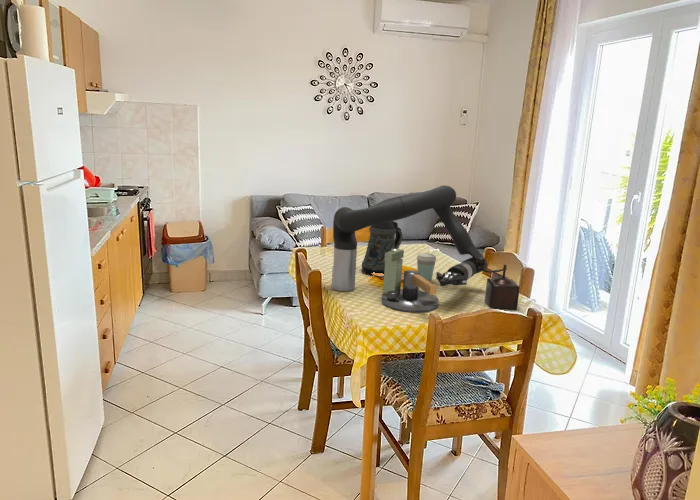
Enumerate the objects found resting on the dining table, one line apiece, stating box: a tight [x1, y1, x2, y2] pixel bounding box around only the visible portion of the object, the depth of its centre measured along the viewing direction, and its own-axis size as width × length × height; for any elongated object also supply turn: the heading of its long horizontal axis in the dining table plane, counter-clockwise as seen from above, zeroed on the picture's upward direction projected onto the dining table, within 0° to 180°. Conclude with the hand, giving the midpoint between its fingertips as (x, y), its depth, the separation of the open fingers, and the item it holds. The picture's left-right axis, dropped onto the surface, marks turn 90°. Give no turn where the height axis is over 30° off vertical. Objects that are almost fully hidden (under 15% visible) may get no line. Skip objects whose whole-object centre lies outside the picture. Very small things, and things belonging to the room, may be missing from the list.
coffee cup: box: [416, 252, 437, 283], centre depth 234 cm, size 8×8×12 cm
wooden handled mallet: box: [402, 269, 438, 300], centre depth 198 cm, size 21×6×10 cm, turn 18°
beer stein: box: [361, 221, 403, 277], centre depth 245 cm, size 16×19×25 cm
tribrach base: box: [380, 248, 440, 314], centre depth 204 cm, size 22×22×20 cm
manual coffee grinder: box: [476, 256, 520, 311], centre depth 207 cm, size 16×11×18 cm
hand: (442, 283), depth 196 cm, fingers closed
